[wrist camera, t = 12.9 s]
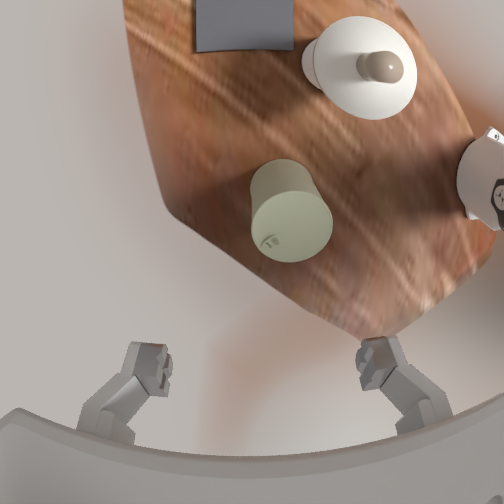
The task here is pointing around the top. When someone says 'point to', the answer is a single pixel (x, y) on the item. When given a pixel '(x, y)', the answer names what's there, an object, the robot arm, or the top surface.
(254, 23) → the mat
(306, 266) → the top surface
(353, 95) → the lid
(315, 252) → the can
